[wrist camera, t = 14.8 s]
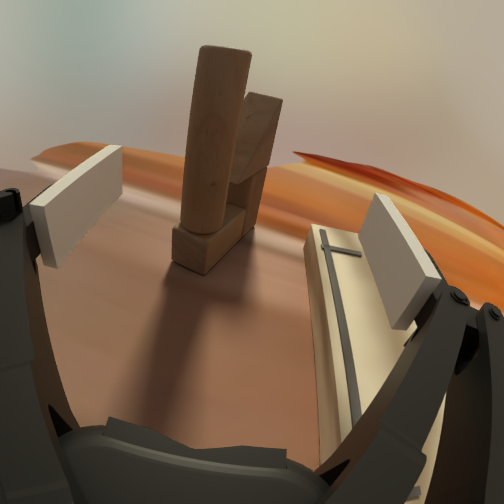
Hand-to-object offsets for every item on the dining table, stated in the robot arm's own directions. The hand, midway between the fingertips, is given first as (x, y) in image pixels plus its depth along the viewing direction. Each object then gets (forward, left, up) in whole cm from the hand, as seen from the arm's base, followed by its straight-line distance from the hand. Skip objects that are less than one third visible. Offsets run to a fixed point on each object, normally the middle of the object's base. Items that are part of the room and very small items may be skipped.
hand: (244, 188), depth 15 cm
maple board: (+12, -2, -11) cm, 16 cm away
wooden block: (-2, +11, -11) cm, 16 cm away
